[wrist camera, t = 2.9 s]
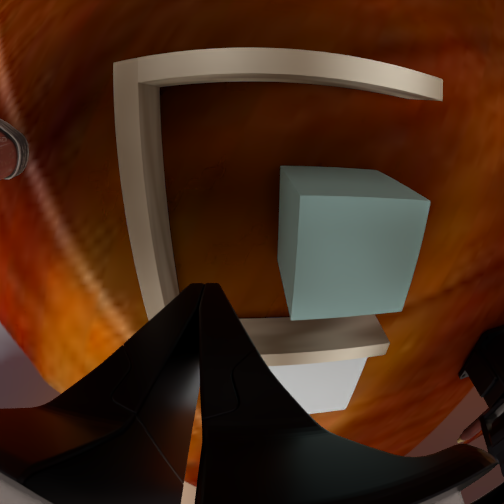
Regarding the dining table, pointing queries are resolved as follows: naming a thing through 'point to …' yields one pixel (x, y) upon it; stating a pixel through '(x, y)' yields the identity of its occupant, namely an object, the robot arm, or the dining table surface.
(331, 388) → the ceramic tile
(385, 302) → the cube
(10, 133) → the lighter
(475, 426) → the gavel
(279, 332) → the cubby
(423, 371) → the dining table surface
